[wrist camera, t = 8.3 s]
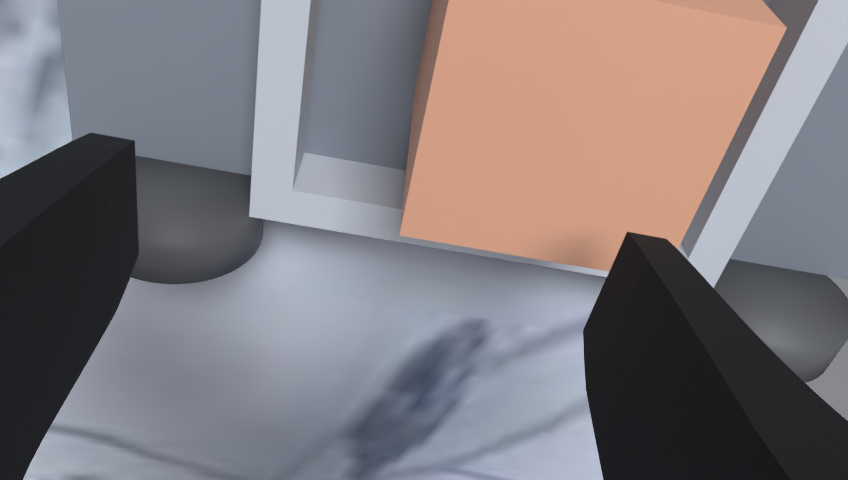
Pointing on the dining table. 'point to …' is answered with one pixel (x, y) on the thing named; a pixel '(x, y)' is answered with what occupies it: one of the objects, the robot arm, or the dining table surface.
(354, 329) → the dining table surface
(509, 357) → the dining table surface
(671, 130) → the light orange block
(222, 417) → the dining table surface
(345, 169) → the chassis
